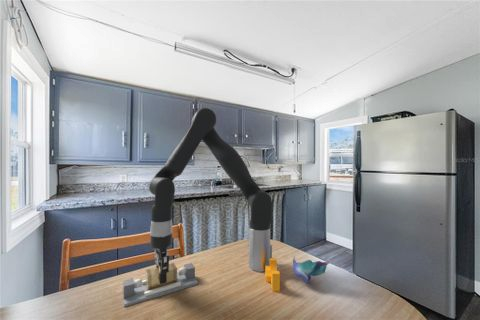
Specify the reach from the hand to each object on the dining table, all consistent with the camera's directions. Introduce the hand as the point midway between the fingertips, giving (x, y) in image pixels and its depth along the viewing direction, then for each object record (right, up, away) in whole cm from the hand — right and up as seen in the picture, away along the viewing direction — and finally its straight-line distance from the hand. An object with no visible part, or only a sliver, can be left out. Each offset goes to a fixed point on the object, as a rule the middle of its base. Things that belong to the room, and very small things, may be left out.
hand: (161, 277), depth 76 cm
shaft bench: (0, -3, 0) cm, 3 cm away
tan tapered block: (0, -2, 0) cm, 2 cm away
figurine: (+55, -4, +4) cm, 55 cm away
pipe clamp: (+41, -4, +4) cm, 41 cm away
